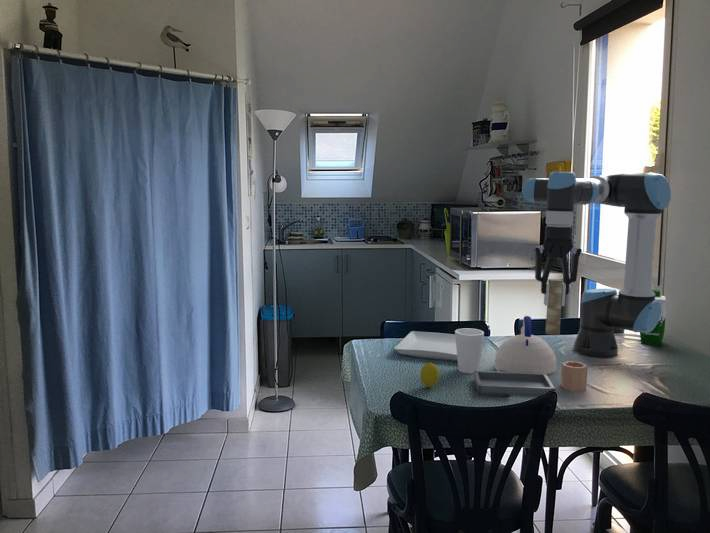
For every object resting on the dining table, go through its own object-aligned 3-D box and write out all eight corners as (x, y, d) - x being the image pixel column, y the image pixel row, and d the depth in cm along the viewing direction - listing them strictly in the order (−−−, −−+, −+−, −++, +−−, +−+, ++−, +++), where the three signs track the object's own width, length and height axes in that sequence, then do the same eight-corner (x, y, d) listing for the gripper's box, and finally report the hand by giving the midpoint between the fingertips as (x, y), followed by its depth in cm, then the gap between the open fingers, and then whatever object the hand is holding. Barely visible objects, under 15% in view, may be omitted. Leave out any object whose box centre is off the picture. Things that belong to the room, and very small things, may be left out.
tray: (545, 382, 199) (545, 373, 198) (554, 398, 185) (555, 388, 185) (473, 380, 201) (474, 370, 201) (477, 395, 187) (478, 385, 187)
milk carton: (662, 340, 250) (666, 290, 247) (663, 346, 241) (668, 294, 238) (638, 338, 253) (641, 288, 250) (638, 344, 245) (642, 292, 242)
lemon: (418, 385, 196) (419, 359, 195) (436, 384, 197) (437, 359, 195) (422, 391, 191) (422, 365, 189) (440, 390, 191) (441, 364, 190)
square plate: (470, 366, 217) (470, 355, 216) (392, 358, 225) (392, 347, 225) (481, 345, 242) (482, 335, 241) (411, 339, 251) (411, 329, 250)
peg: (557, 332, 191) (561, 279, 189) (561, 335, 187) (564, 281, 185) (544, 331, 192) (547, 278, 189) (547, 334, 188) (550, 281, 186)
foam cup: (482, 375, 205) (483, 336, 204) (453, 373, 207) (454, 334, 205) (482, 366, 215) (484, 329, 213) (454, 365, 216) (455, 327, 215)
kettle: (554, 362, 221) (557, 311, 218) (559, 381, 201) (562, 325, 198) (494, 358, 225) (496, 307, 223) (493, 376, 205) (495, 321, 203)
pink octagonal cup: (582, 386, 195) (583, 361, 194) (587, 394, 189) (589, 368, 187) (558, 386, 196) (560, 360, 195) (563, 393, 189) (565, 367, 188)
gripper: (585, 225, 188) (580, 303, 192) (526, 224, 189) (522, 301, 193) (592, 227, 181) (587, 308, 184) (531, 226, 182) (527, 306, 185)
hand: (554, 304), depth 188 cm, fingers closed on peg, 4 cm apart
